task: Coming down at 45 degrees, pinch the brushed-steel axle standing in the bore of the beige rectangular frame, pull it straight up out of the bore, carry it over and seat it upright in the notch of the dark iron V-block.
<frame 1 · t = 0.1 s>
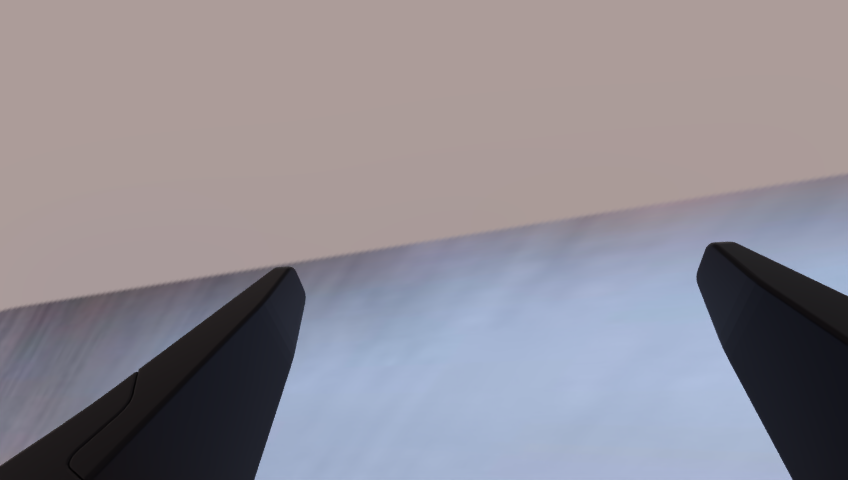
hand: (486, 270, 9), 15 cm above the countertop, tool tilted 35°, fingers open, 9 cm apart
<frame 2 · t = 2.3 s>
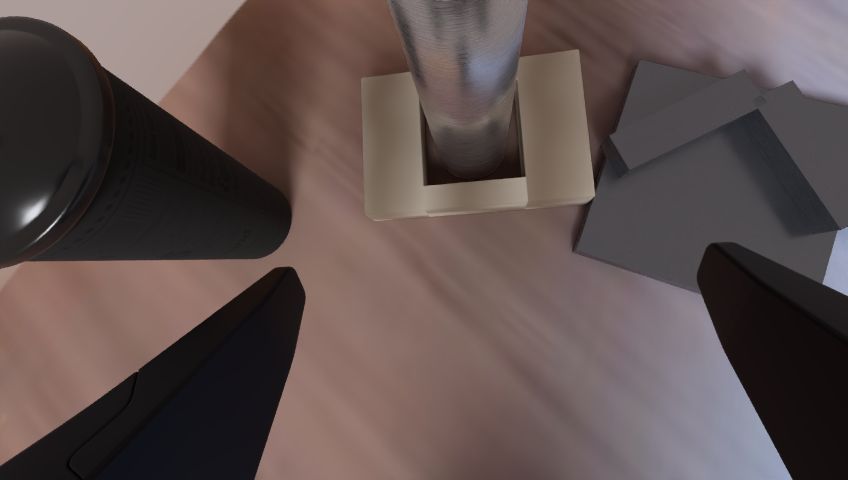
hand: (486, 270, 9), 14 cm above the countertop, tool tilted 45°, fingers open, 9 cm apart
beige rectangular frame: (471, 146, 23), on the countertop
drinking cup: (256, 221, 25), on the countertop
axle: (464, 72, 15), in the beige rectangular frame
v block: (708, 188, 21), on the countertop
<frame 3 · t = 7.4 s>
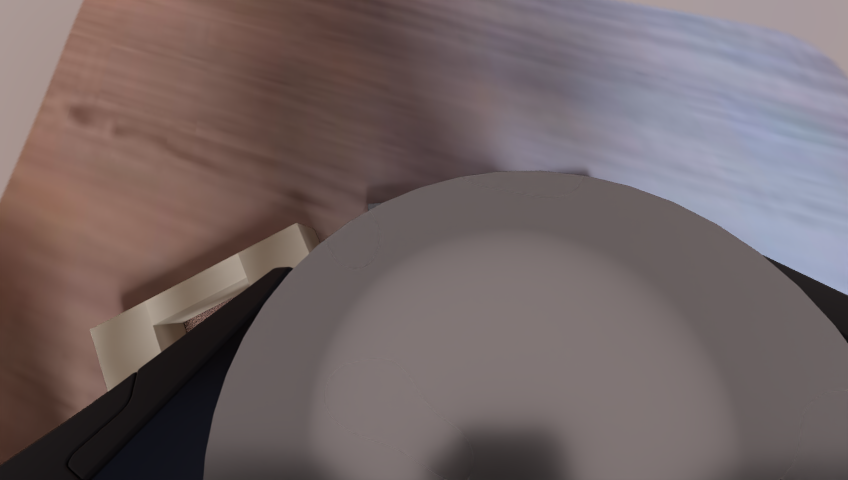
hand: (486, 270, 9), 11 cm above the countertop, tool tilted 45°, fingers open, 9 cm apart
beige rectangular frame: (242, 348, 21), on the countertop
axle: (491, 337, 10), point 9 cm above the countertop, touching v block
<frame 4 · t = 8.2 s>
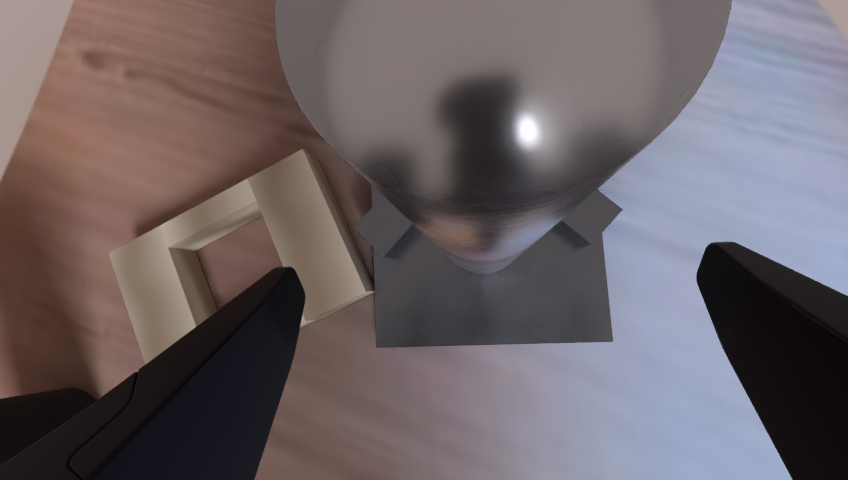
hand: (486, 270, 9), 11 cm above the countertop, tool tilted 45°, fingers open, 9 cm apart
beige rectangular frame: (252, 272, 22), on the countertop
drinking cup: (71, 430, 23), on the countertop
axle: (482, 194, 11), point 9 cm above the countertop, touching v block
v block: (482, 232, 20), on the countertop
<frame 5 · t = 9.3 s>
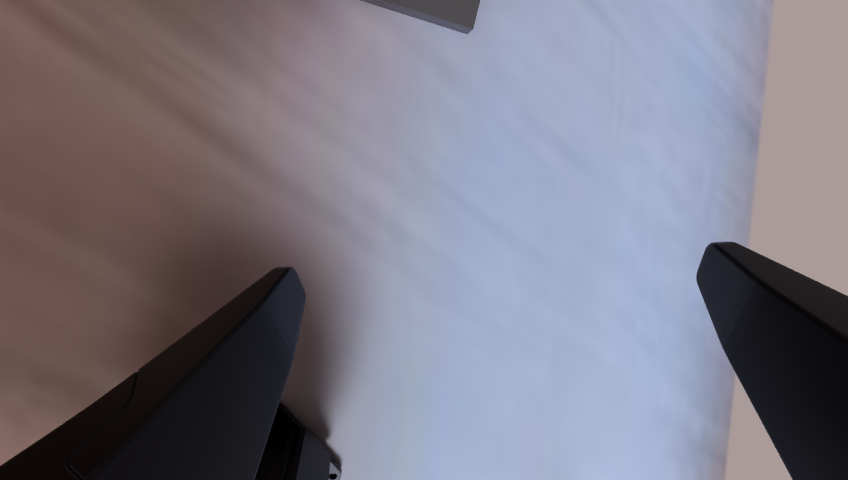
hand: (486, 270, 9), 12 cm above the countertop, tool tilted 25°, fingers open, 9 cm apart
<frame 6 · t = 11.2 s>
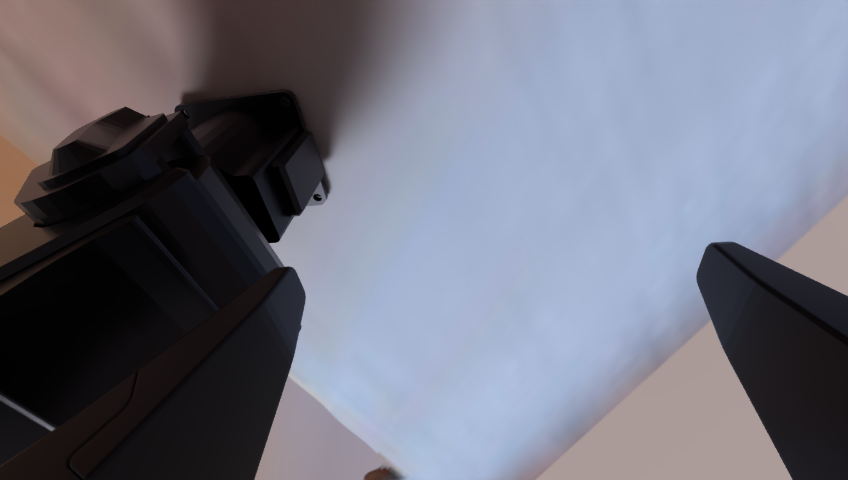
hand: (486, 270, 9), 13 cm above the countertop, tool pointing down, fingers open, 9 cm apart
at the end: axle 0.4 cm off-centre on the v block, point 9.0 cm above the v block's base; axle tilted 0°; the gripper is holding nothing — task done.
